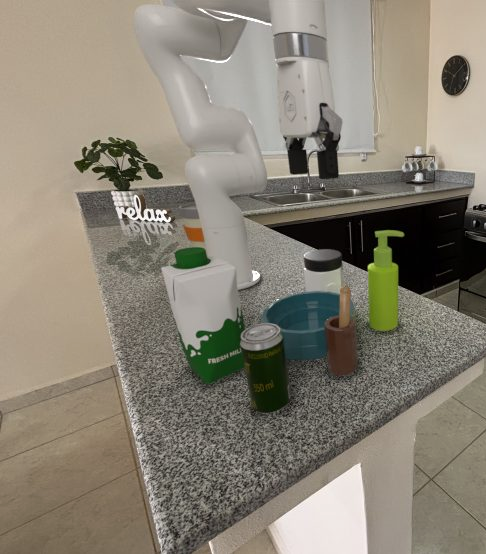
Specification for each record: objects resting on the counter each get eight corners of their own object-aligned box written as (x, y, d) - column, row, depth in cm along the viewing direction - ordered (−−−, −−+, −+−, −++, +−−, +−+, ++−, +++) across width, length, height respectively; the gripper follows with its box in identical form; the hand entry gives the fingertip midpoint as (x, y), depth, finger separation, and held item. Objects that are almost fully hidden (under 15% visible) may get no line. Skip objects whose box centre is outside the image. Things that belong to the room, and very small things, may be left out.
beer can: (288, 386, 54) (278, 319, 50) (295, 409, 50) (285, 337, 45) (250, 397, 52) (237, 327, 47) (254, 422, 47) (240, 347, 43)
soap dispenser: (404, 331, 70) (406, 235, 63) (370, 334, 69) (367, 236, 61) (400, 317, 75) (401, 227, 68) (368, 319, 74) (365, 228, 67)
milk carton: (235, 346, 64) (214, 241, 56) (260, 366, 59) (240, 254, 51) (182, 368, 58) (150, 254, 50) (204, 393, 52) (172, 269, 45)
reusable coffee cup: (241, 249, 117) (233, 204, 111) (207, 260, 106) (196, 211, 100) (214, 244, 121) (206, 200, 115) (179, 254, 111) (168, 206, 105)
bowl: (246, 348, 63) (240, 319, 61) (305, 310, 78) (302, 285, 75) (321, 372, 58) (318, 341, 55) (370, 326, 72) (370, 300, 69)
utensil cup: (322, 373, 57) (318, 326, 54) (339, 357, 62) (336, 312, 58) (347, 381, 56) (344, 333, 52) (362, 364, 60) (361, 318, 56)
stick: (336, 367, 58) (338, 286, 52) (341, 362, 59) (344, 283, 53) (344, 370, 57) (347, 289, 51) (349, 365, 59) (353, 285, 53)
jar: (313, 315, 75) (308, 263, 71) (302, 301, 82) (296, 252, 77) (351, 306, 80) (349, 256, 75) (338, 293, 86) (335, 246, 82)
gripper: (253, 60, 54) (269, 173, 61) (307, 39, 43) (320, 182, 49) (298, 66, 59) (308, 171, 66) (357, 49, 48) (363, 178, 54)
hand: (313, 176), depth 57 cm, fingers open, 9 cm apart
